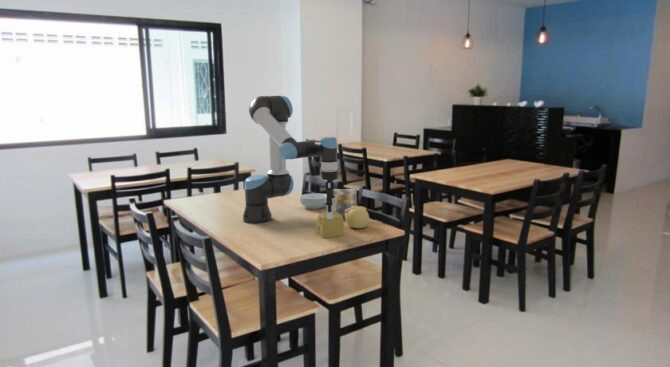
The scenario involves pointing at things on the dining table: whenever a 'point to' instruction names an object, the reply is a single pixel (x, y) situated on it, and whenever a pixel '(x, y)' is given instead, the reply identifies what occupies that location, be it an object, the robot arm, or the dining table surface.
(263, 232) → the dining table surface
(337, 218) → the cheese
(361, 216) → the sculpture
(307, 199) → the cereal bowl
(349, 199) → the stand
